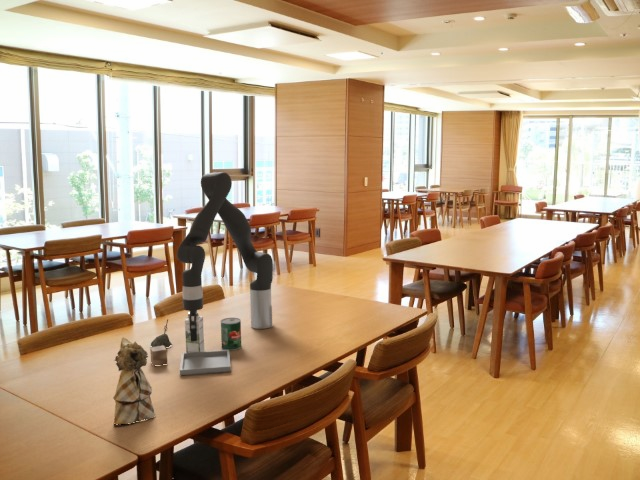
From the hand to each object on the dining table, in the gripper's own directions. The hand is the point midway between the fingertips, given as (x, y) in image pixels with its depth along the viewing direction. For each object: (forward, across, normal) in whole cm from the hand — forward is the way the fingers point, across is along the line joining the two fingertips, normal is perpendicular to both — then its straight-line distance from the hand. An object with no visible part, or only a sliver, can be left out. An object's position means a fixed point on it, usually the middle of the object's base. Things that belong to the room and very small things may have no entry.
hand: (194, 337), depth 229 cm
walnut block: (+7, -8, +13) cm, 16 cm away
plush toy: (+7, -51, +16) cm, 54 cm away
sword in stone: (+7, +12, +14) cm, 20 cm away
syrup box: (+7, 0, 0) cm, 7 cm away
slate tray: (+7, -13, -4) cm, 15 cm away
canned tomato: (+7, +5, -14) cm, 17 cm away
